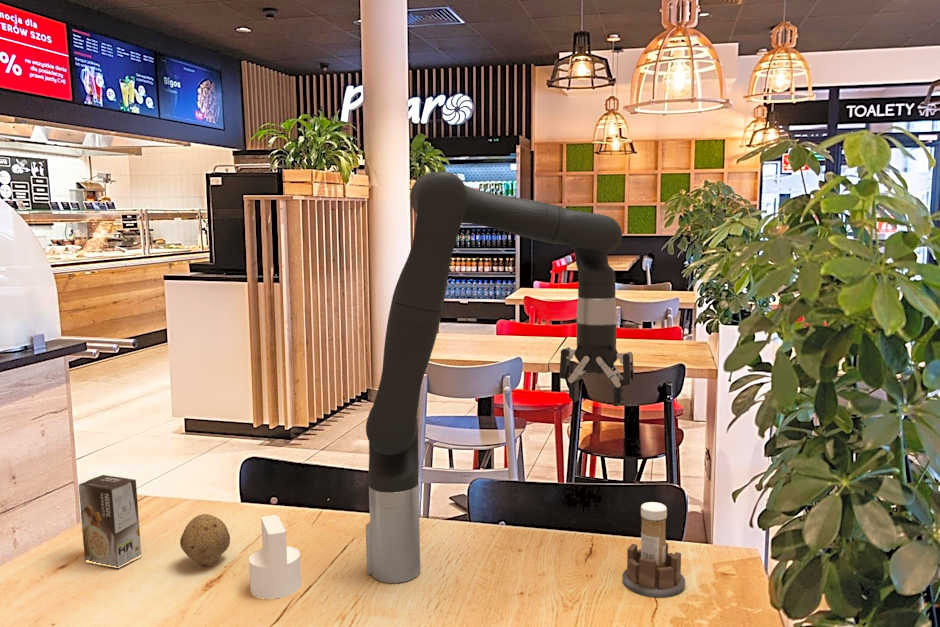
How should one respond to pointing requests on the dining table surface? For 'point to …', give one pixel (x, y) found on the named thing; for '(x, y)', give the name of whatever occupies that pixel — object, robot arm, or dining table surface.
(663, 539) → the sprinkles bottle
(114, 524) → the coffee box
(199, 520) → the brown potato
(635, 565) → the castellated collar
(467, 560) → the dining table surface
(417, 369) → the robot arm
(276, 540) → the base with upright slab
